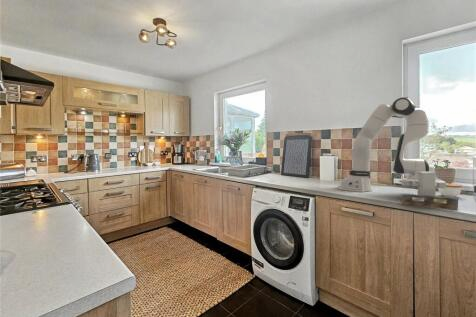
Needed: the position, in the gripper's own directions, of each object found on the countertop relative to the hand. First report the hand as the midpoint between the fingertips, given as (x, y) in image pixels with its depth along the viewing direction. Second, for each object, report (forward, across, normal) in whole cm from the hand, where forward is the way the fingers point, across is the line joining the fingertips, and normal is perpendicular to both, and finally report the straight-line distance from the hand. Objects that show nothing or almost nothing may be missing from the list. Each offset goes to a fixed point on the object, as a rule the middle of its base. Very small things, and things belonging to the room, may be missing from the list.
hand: (426, 185), depth 124 cm
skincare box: (0, 0, +7) cm, 7 cm away
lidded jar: (-28, +18, +10) cm, 35 cm away
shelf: (+1, 0, +10) cm, 10 cm away
